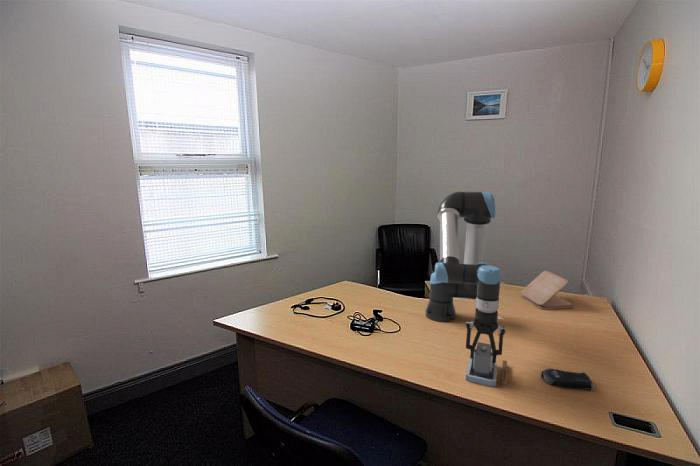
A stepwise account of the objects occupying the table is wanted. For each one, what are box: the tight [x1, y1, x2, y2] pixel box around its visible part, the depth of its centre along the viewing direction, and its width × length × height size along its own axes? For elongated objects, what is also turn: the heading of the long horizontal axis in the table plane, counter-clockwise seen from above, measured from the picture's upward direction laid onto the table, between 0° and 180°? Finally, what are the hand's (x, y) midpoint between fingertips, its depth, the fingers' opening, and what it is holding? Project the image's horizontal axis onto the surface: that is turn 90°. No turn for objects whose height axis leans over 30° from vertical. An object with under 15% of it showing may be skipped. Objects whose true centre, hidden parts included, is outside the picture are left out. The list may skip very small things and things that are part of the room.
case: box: [520, 270, 575, 310], centre depth 201 cm, size 20×21×16 cm
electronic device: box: [539, 368, 595, 392], centre depth 128 cm, size 9×6×15 cm
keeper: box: [465, 357, 499, 387], centre depth 134 cm, size 10×15×2 cm, turn 156°
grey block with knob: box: [474, 342, 492, 378], centre depth 133 cm, size 10×5×9 cm, turn 156°
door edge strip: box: [500, 360, 508, 386], centre depth 133 cm, size 2×14×2 cm, turn 156°
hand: (482, 368), depth 134 cm, fingers closed on grey block with knob, 5 cm apart
